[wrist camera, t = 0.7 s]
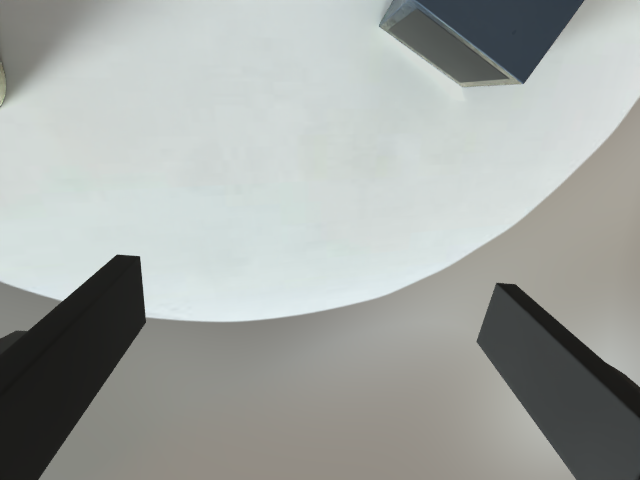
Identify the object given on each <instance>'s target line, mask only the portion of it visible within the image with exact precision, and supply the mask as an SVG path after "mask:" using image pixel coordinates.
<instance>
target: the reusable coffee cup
mask: <svg viewBox="0 0 640 480" xmlns="http://www.w3.org/2000/svg"><path fill="white" fill-rule="evenodd" d="M5 93H6V79H5V73H4V70H3V66H2V63H1V61H0V106H1V104H2V103H3V100H4V97H5Z"/></svg>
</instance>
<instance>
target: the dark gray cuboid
mask: <svg viewBox="0 0 640 480" xmlns="http://www.w3.org/2000/svg"><path fill="white" fill-rule="evenodd" d="M583 1H584V0H393V1H392V3H391V5H390V7H389V8H388V10H387V12H386V14H385V16H384V17H383V19H382V21H381V23H380V24H379V27H381V28H382V29H383V30H385V31H386V32H388V33H389V34H390V35H392V36H393V37H394V38H396V39H397V40H399V41H400V42H401V43H403V44H404V45H406V46H407V47H408V48H410V49H411V50H412V51H414V52H415V53H417V54H418V55H419V56H421V57H422V58H423V59H425V60H426V61H428V62H429V63H430V64H432V65H433V66H434V67H436V68H437V69H439V70H440V71H441V72H443V73H444V74H445V75H447V76H448V77H450V78H451V79H452V80H454V81H455V82H456V83H458V84H459V85H461V86H462V87H474V86H494V85H513V84H524V83H525V81H526V80H527V79H528V77H529V76H530V75H531V73H532V72H533V70H534V69H535V68H536V66H537V65H538V64H539V62H540V61H541V59H542V58H543V57H544V55H545V54H546V53H547V51H548V50H549V48H550V47H551V46H552V44H553V43H554V41H555V40H556V39H557V37H558V36H559V35H560V33H561V32H562V30H563V29H564V28H565V26H566V25H567V24H568V22H569V21H570V19H571V18H572V17H573V15H574V14H575V13H576V11H577V10H578V8H579V7H580V6H581V4H582V3H583Z"/></svg>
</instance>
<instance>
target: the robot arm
mask: <svg viewBox="0 0 640 480" xmlns="http://www.w3.org/2000/svg"><path fill="white" fill-rule="evenodd" d="M145 323H146V318H145V307H144V296H143V284H142V273H141V262H140V256H129V255H116V256H115V257H114V258H113V259H111V260H110V261H109V262H108V263H107V264H106V265H104V266H103V267H102V268H101V269H100V270H99V271H97V272H96V273H95V274H94V275H93V276H92V277H90V278H89V279H88V280H87V281H86V282H85V283H83V284H82V285H81V286H80V287H79V288H78V289H76V290H75V291H74V292H73V293H72V294H71V295H69V296H68V297H67V298H66V299H65V300H64V301H62V302H61V303H60V304H59V305H58V306H57V307H55V308H54V309H53V310H52V311H51V312H50V313H49V314H47V315H46V316H45V317H44V318H43V319H42V320H40V321H39V322H38V323H37V324H36V325H35V326H33V327H32V328H31V329H30V330H29V331H15V332H13V333H11V334H9V335H7V336H5V337H3V338H1V339H0V480H38V479H39V478H40V476H41V475H42V473H43V472H44V470H45V469H46V467H47V466H48V465H49V463H50V461H51V460H52V459H53V457H54V456H55V454H56V453H57V451H58V450H59V448H60V447H61V446H62V444H63V443H64V441H65V440H66V438H67V437H68V435H69V434H70V432H71V431H72V430H73V428H74V426H75V425H76V424H77V422H78V421H79V419H80V418H81V416H82V415H83V413H84V412H85V410H86V409H87V408H88V406H89V405H90V403H91V402H92V400H93V399H94V397H95V396H96V394H97V393H98V392H99V390H100V389H101V387H102V386H103V384H104V383H105V381H106V380H107V378H108V377H109V376H110V374H111V373H112V371H113V370H114V368H115V367H116V365H117V364H118V362H119V361H120V359H121V358H122V357H123V355H124V354H125V352H126V351H127V349H128V348H129V346H130V345H131V343H132V342H133V340H134V339H135V338H136V336H137V335H138V333H139V332H140V330H141V329H142V327H143V326H144V324H145ZM477 343H478V344H479V346H480V347H481V348H482V350H483V351H484V352H485V354H486V355H487V357H488V358H489V359H490V361H491V362H492V364H493V365H494V366H495V368H496V369H497V371H498V372H499V373H500V375H501V376H502V377H503V379H504V380H505V382H506V383H507V384H508V386H509V387H510V389H511V390H512V391H513V393H514V394H515V395H516V397H517V398H518V400H519V401H520V402H521V404H522V405H523V406H524V408H525V409H526V411H527V412H528V413H529V415H530V416H531V417H532V419H533V420H534V422H535V423H536V424H537V426H538V427H539V429H540V430H541V431H542V433H543V434H544V435H545V437H546V438H547V440H548V441H549V442H550V444H551V445H552V446H553V448H554V449H555V451H556V452H557V453H558V455H559V456H560V458H561V459H562V460H563V462H564V463H565V464H566V466H567V467H568V469H569V470H570V471H571V473H572V474H573V475H574V477H575V478H576V480H640V387H639V386H638V385H636V384H635V383H634V382H633V381H632V380H630V378H628V377H627V376H626V375H625V374H623V373H622V372H620V371H618V370H617V369H615V368H614V367H612V366H610V365H609V364H607V363H605V362H604V361H603V360H602V359H601V358H599V357H598V356H597V355H596V354H595V353H594V352H593V351H592V350H590V349H589V348H588V347H587V346H586V345H585V344H583V343H582V342H581V341H580V340H579V339H578V338H577V337H575V336H574V335H573V334H572V333H571V332H570V331H568V330H567V329H566V328H565V327H564V326H563V325H562V324H560V323H559V322H558V321H557V320H556V319H554V318H553V317H552V316H551V315H550V314H549V313H548V312H547V311H545V310H544V309H543V308H542V307H541V306H539V305H538V304H537V303H536V302H535V301H534V300H533V299H532V298H530V297H529V296H528V295H527V294H526V293H525V292H523V291H522V290H521V289H520V288H519V287H518V286H517V285H515V284H504V283H496V286H495V289H494V291H493V295H492V297H491V300H490V303H489V306H488V309H487V312H486V315H485V318H484V321H483V324H482V327H481V330H480V333H479V336H478V339H477Z"/></svg>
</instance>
